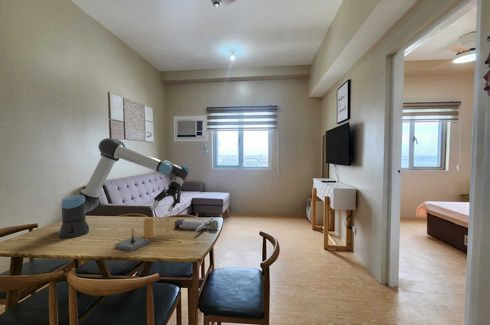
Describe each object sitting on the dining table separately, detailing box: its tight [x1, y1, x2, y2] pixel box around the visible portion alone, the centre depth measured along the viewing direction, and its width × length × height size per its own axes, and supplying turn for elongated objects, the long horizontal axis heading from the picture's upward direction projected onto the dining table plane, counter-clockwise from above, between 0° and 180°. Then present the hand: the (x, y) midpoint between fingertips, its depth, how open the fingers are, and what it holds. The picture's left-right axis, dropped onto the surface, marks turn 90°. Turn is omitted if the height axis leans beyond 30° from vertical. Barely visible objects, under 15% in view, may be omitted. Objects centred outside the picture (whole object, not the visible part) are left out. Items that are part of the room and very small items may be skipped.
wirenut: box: [143, 217, 154, 239], centre depth 135 cm, size 5×5×11 cm
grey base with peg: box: [114, 228, 151, 252], centre depth 122 cm, size 12×12×9 cm
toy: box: [174, 216, 219, 233], centre depth 150 cm, size 30×7×30 cm
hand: (160, 210), depth 143 cm, fingers open, 13 cm apart
